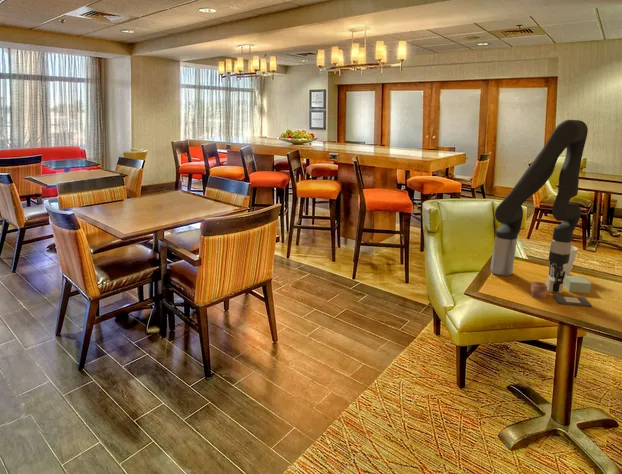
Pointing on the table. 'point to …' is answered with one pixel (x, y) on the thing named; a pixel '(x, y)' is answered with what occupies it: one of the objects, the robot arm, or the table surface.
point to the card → (572, 300)
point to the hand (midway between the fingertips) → (553, 288)
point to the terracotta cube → (538, 290)
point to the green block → (577, 284)
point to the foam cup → (570, 260)
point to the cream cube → (550, 284)
